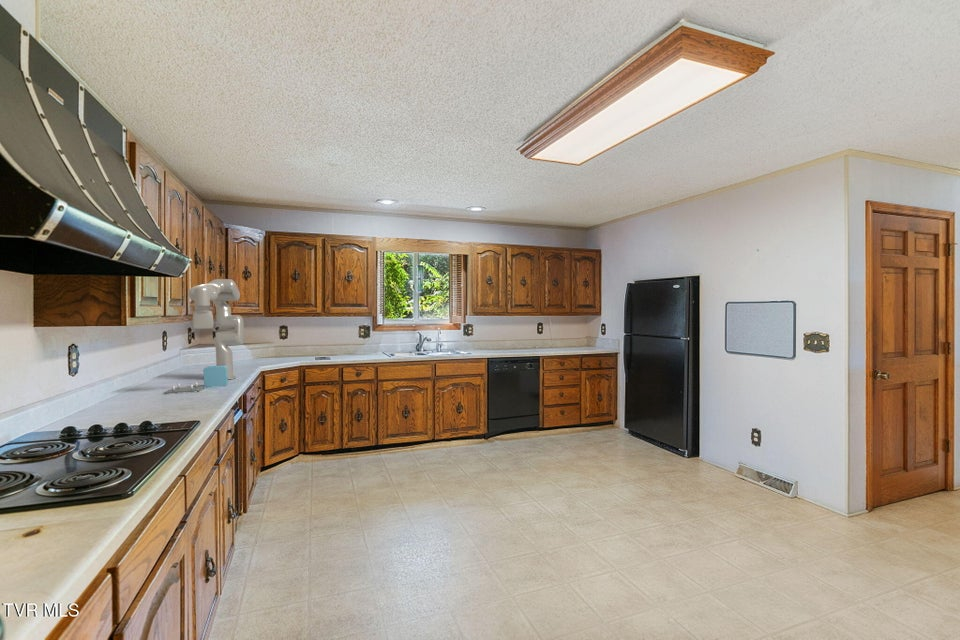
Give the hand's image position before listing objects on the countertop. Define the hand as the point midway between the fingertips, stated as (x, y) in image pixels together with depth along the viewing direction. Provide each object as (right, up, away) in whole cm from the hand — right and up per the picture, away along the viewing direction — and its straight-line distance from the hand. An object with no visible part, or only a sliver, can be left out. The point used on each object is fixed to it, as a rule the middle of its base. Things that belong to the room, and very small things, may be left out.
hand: (203, 339), depth 260 cm
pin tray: (-11, -30, 0) cm, 32 cm away
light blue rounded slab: (-1, -29, +15) cm, 33 cm away
